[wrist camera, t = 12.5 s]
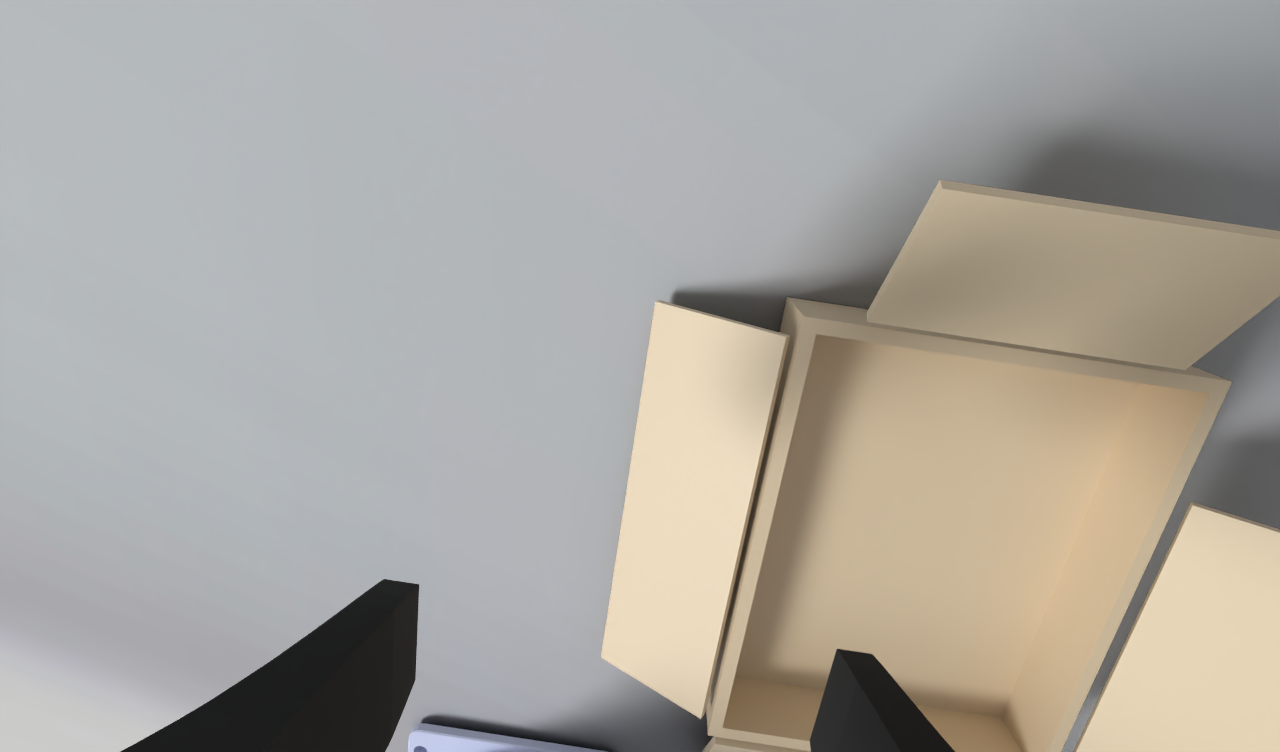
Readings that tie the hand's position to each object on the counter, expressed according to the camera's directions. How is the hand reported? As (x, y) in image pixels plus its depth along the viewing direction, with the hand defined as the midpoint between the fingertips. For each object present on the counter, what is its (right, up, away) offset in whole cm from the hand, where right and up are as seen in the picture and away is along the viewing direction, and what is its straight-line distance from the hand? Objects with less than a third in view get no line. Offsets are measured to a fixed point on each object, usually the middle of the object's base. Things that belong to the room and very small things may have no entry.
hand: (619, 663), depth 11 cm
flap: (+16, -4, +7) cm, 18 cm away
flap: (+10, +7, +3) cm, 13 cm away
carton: (+7, -2, +11) cm, 13 cm away
